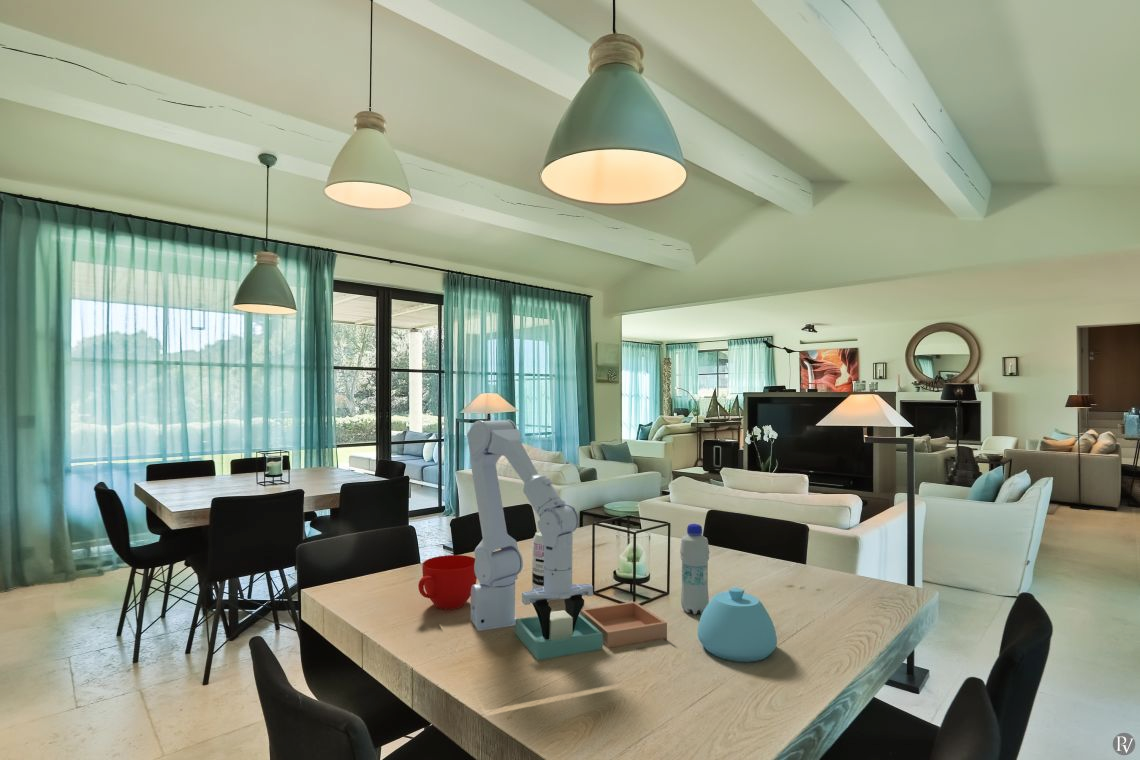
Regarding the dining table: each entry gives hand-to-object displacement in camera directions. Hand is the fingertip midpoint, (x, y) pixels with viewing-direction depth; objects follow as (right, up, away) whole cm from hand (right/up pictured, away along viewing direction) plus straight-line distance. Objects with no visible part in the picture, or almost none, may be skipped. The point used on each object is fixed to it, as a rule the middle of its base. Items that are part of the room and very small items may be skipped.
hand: (557, 635), depth 118 cm
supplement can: (-3, -3, +30) cm, 30 cm away
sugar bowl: (+35, -2, -2) cm, 35 cm away
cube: (0, -1, 0) cm, 1 cm away
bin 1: (0, -2, 0) cm, 2 cm away
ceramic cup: (-27, -2, +20) cm, 34 cm away
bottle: (+31, -3, +18) cm, 36 cm away
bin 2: (+13, -2, +6) cm, 15 cm away
